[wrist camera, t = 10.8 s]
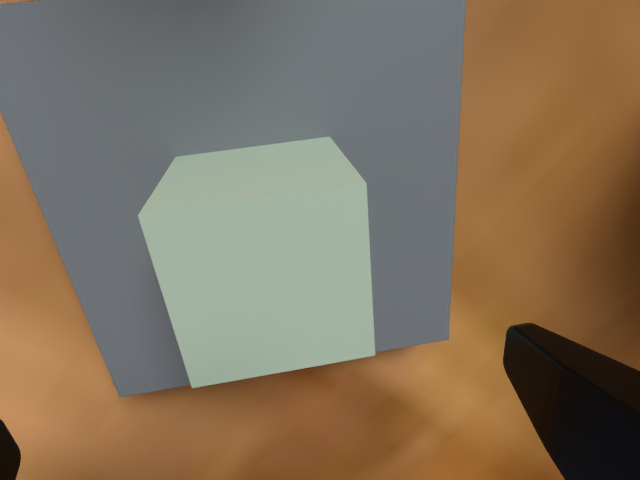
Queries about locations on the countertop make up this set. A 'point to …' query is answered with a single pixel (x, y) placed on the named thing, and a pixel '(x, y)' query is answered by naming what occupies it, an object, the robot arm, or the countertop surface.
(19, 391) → the countertop surface
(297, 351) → the green cube
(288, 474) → the countertop surface
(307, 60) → the base
